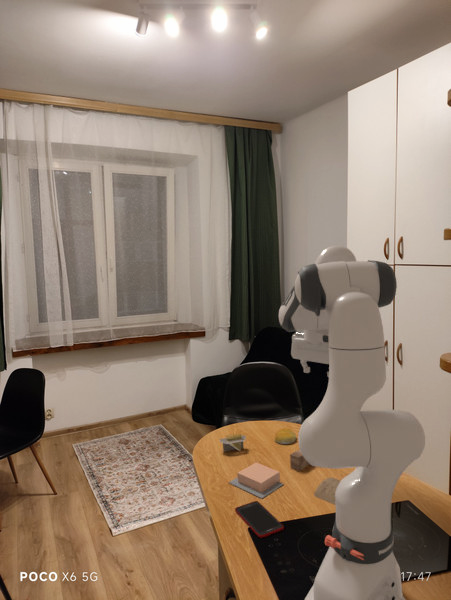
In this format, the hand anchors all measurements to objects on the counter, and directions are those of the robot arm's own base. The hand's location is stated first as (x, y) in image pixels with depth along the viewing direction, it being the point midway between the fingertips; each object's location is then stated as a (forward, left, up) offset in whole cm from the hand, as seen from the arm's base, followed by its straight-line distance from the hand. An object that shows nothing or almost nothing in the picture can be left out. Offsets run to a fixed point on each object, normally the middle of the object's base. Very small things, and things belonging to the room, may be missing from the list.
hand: (318, 374), depth 145 cm
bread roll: (+7, +21, -32) cm, 39 cm away
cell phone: (-39, -5, -32) cm, 50 cm away
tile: (-19, +8, -29) cm, 36 cm away
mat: (-25, +8, -31) cm, 41 cm away
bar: (-2, +4, -31) cm, 32 cm away
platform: (-13, +30, -32) cm, 45 cm away
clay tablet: (-13, -14, -32) cm, 37 cm away
